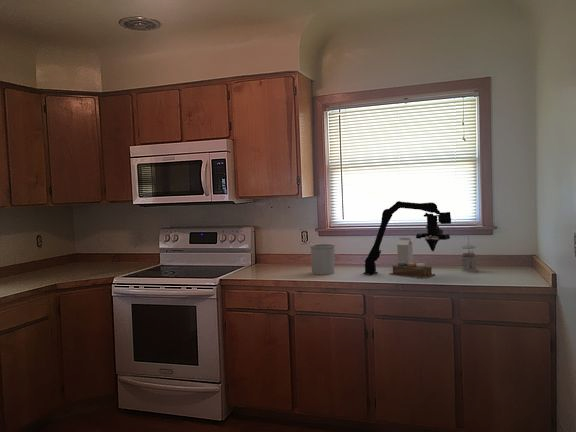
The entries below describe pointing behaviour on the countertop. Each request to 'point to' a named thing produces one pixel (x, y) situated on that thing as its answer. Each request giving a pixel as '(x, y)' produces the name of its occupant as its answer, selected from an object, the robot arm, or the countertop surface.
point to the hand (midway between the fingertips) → (432, 251)
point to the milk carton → (405, 250)
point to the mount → (412, 271)
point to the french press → (468, 258)
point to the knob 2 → (420, 265)
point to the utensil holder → (322, 259)
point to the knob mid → (411, 264)
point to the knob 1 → (402, 263)
